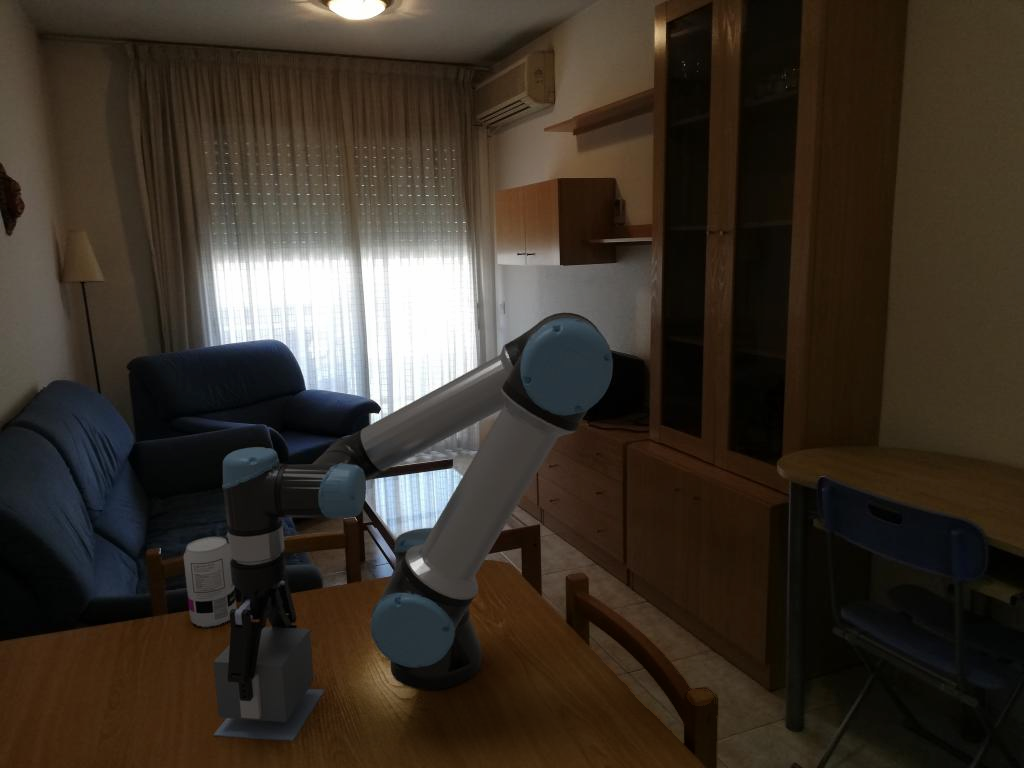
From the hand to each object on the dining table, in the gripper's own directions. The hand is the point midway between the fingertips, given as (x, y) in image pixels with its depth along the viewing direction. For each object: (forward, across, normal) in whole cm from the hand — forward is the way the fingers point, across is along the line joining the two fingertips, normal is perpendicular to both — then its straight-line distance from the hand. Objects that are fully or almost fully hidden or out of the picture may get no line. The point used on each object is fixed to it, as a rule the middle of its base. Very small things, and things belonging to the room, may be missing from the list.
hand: (268, 693), depth 110 cm
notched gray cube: (+1, 0, 0) cm, 1 cm away
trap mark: (+3, 0, 0) cm, 3 cm away
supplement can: (+3, -27, -24) cm, 36 cm away
